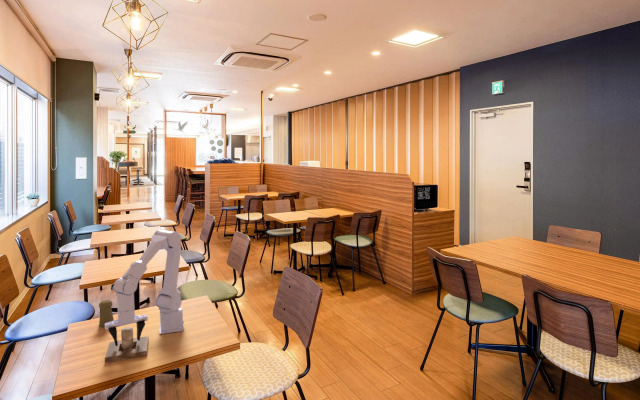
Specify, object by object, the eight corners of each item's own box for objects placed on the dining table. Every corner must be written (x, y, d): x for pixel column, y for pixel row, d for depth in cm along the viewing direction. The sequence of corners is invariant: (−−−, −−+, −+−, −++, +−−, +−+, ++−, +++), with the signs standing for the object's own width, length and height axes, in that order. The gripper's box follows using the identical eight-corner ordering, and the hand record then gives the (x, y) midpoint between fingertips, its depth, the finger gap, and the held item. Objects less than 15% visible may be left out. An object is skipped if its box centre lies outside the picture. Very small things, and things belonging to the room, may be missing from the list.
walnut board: (148, 340, 152) (148, 336, 152) (147, 355, 141) (146, 350, 141) (109, 346, 147) (109, 342, 146) (105, 362, 136) (104, 357, 135)
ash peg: (132, 347, 147) (131, 325, 146) (134, 351, 143) (133, 329, 142) (121, 350, 144) (120, 328, 143) (122, 355, 141) (121, 332, 140)
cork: (107, 328, 162) (106, 304, 160) (95, 326, 163) (94, 302, 162) (117, 322, 168) (116, 299, 166) (106, 320, 169) (104, 297, 168)
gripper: (144, 301, 149) (145, 333, 151) (103, 309, 141) (105, 342, 142) (148, 307, 143) (149, 340, 145) (105, 316, 135) (107, 351, 137)
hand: (127, 342), depth 143 cm, fingers open, 7 cm apart
